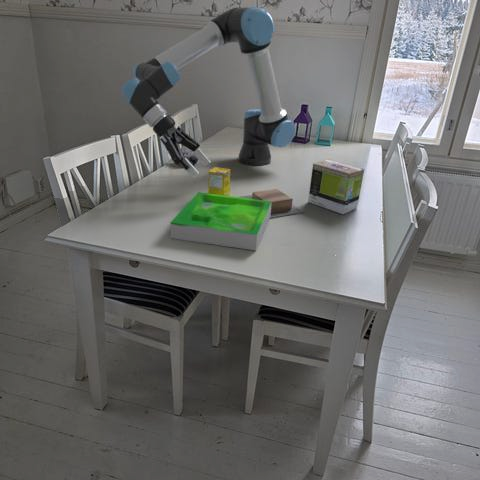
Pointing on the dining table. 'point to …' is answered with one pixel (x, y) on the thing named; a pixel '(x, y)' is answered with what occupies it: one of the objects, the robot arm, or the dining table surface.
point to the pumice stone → (189, 155)
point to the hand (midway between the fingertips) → (202, 169)
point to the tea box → (335, 186)
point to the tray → (222, 220)
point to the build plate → (276, 202)
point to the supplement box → (219, 181)
